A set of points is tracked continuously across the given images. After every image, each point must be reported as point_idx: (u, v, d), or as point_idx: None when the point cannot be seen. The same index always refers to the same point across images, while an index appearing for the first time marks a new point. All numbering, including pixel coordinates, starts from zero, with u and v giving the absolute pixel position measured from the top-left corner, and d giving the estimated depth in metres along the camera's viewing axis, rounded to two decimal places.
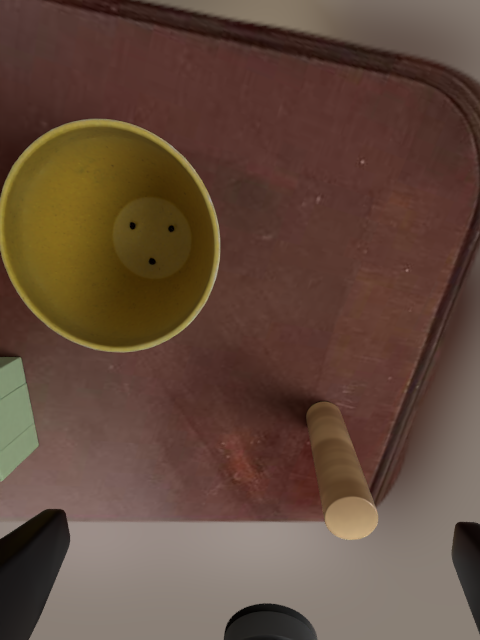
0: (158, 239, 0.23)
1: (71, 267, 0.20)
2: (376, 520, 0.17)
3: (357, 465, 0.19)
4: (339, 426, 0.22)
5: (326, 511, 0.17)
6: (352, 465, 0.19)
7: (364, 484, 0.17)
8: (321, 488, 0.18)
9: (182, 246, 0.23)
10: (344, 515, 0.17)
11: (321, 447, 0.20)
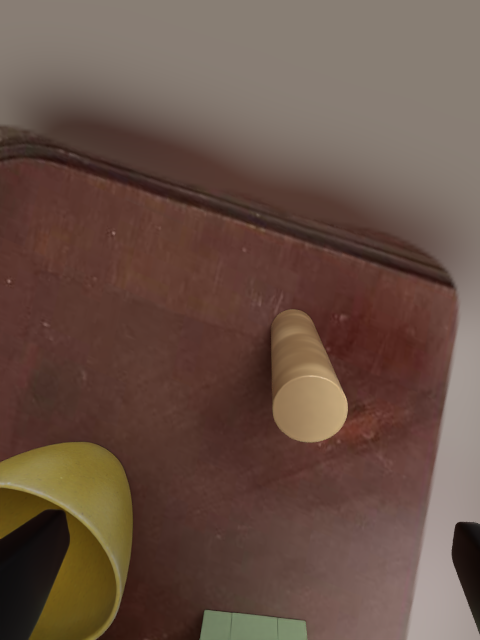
0: None
1: (86, 571, 0.21)
2: (313, 378, 0.11)
3: (282, 354, 0.14)
4: (274, 336, 0.17)
5: (295, 439, 0.12)
6: (275, 364, 0.14)
7: (283, 369, 0.13)
8: None
9: None
10: (303, 418, 0.12)
11: None
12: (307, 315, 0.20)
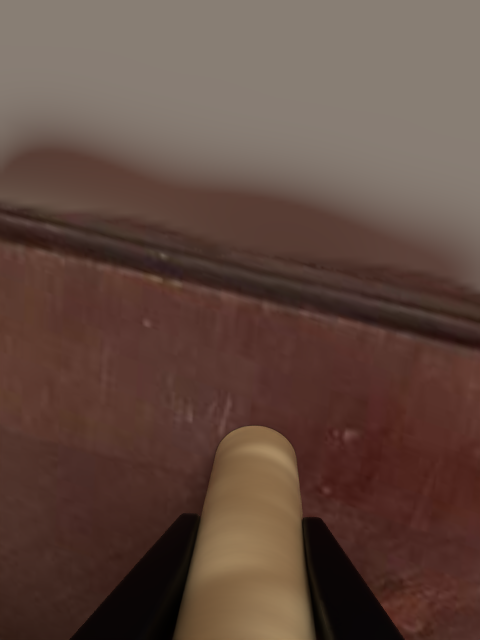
0: None
1: None
2: None
3: None
4: (199, 527, 0.08)
5: None
6: None
7: None
8: None
9: None
10: None
11: None
12: (280, 438, 0.10)
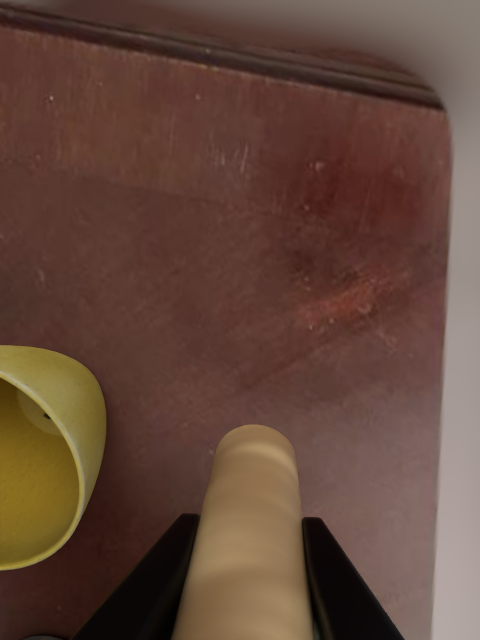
0: None
1: (61, 489, 0.19)
2: None
3: None
4: (198, 526, 0.08)
5: None
6: None
7: None
8: None
9: None
10: None
11: None
12: (279, 437, 0.10)
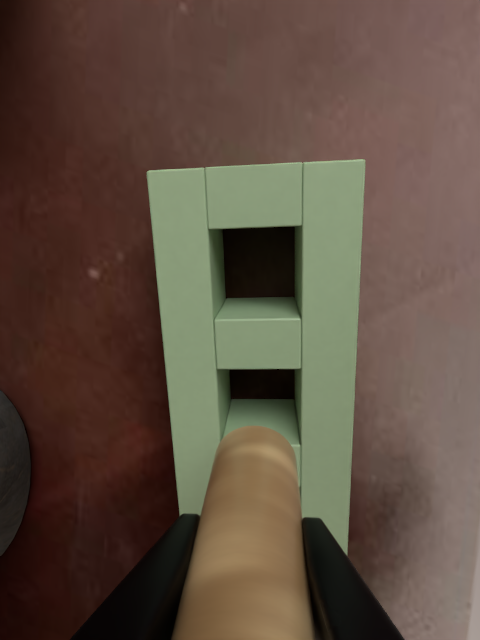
0: None
1: None
2: None
3: None
4: (198, 528, 0.08)
5: None
6: None
7: None
8: None
9: None
10: None
11: None
12: (279, 438, 0.10)
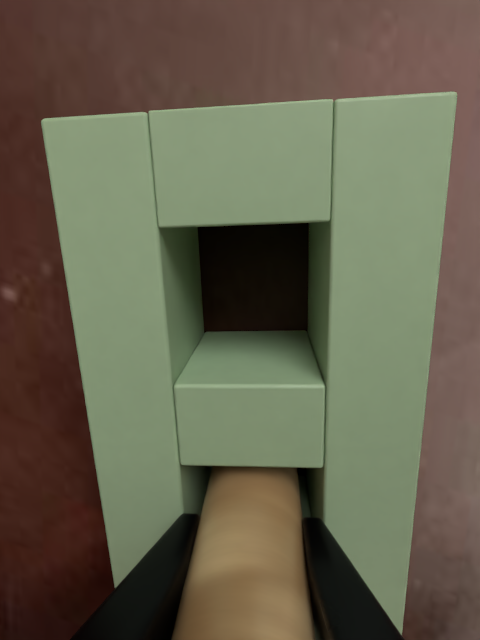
0: None
1: None
2: None
3: None
4: (198, 527, 0.08)
5: None
6: None
7: None
8: None
9: None
10: None
11: None
12: None
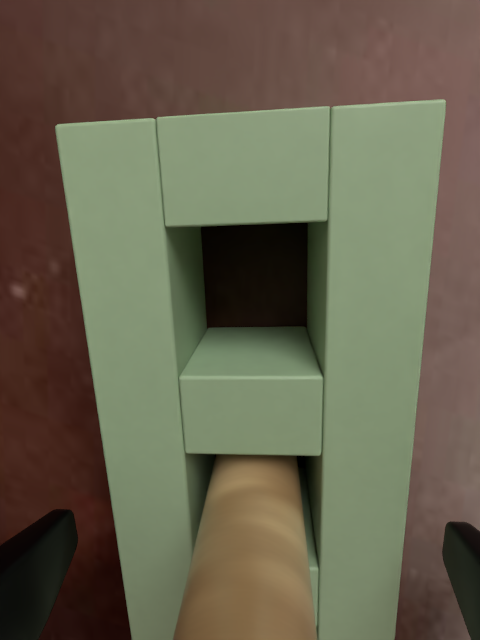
0: None
1: None
2: None
3: (198, 573, 0.06)
4: (213, 468, 0.10)
5: None
6: (183, 601, 0.06)
7: None
8: None
9: None
10: None
11: None
12: None
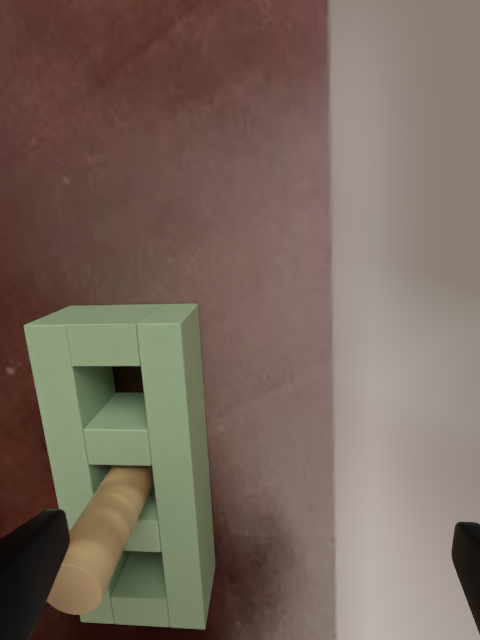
0: None
1: None
2: (65, 567, 0.13)
3: (81, 515, 0.16)
4: None
5: (66, 612, 0.14)
6: (73, 525, 0.16)
7: None
8: None
9: None
10: (67, 596, 0.14)
11: None
12: None
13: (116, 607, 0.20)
